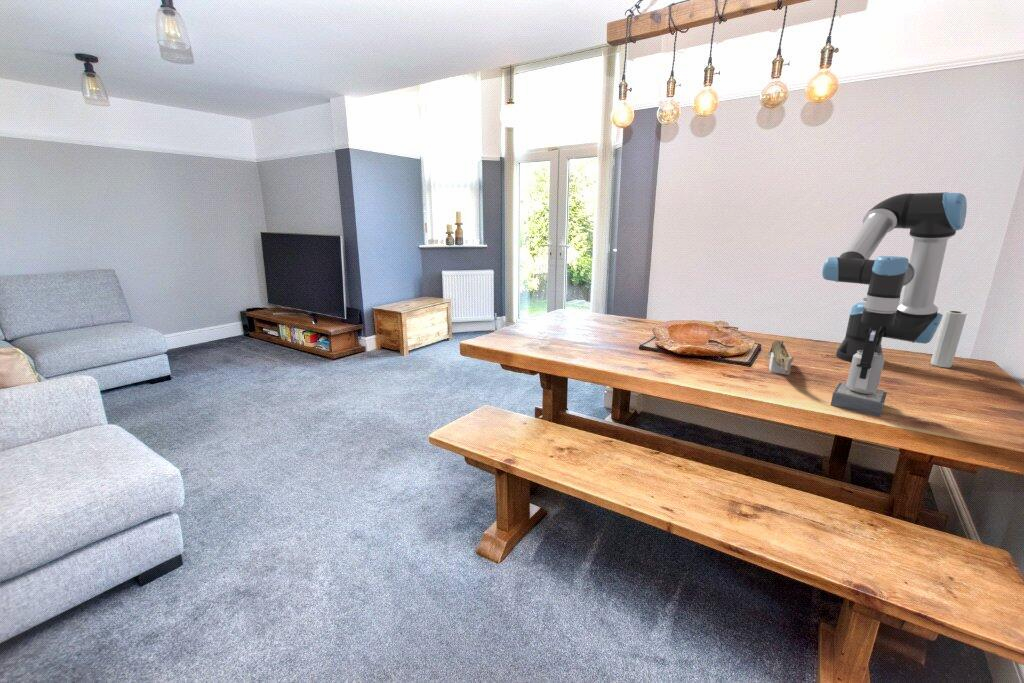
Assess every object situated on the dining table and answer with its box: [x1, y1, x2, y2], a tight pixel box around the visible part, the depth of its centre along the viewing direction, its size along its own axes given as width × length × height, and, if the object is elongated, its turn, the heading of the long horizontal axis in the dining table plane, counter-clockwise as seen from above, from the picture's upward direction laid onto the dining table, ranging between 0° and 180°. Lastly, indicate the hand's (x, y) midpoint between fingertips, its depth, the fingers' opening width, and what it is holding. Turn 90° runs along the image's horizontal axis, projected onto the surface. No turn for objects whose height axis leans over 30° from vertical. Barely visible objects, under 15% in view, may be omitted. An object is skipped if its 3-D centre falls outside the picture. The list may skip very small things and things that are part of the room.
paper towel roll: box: [930, 310, 968, 369], centre depth 173 cm, size 7×6×21 cm
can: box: [846, 350, 885, 394], centre depth 136 cm, size 8×8×12 cm
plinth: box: [830, 381, 888, 417], centre depth 138 cm, size 12×12×5 cm
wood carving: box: [764, 340, 794, 376], centre depth 165 cm, size 9×35×11 cm, turn 156°
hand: (862, 384), depth 137 cm, fingers open, 8 cm apart
